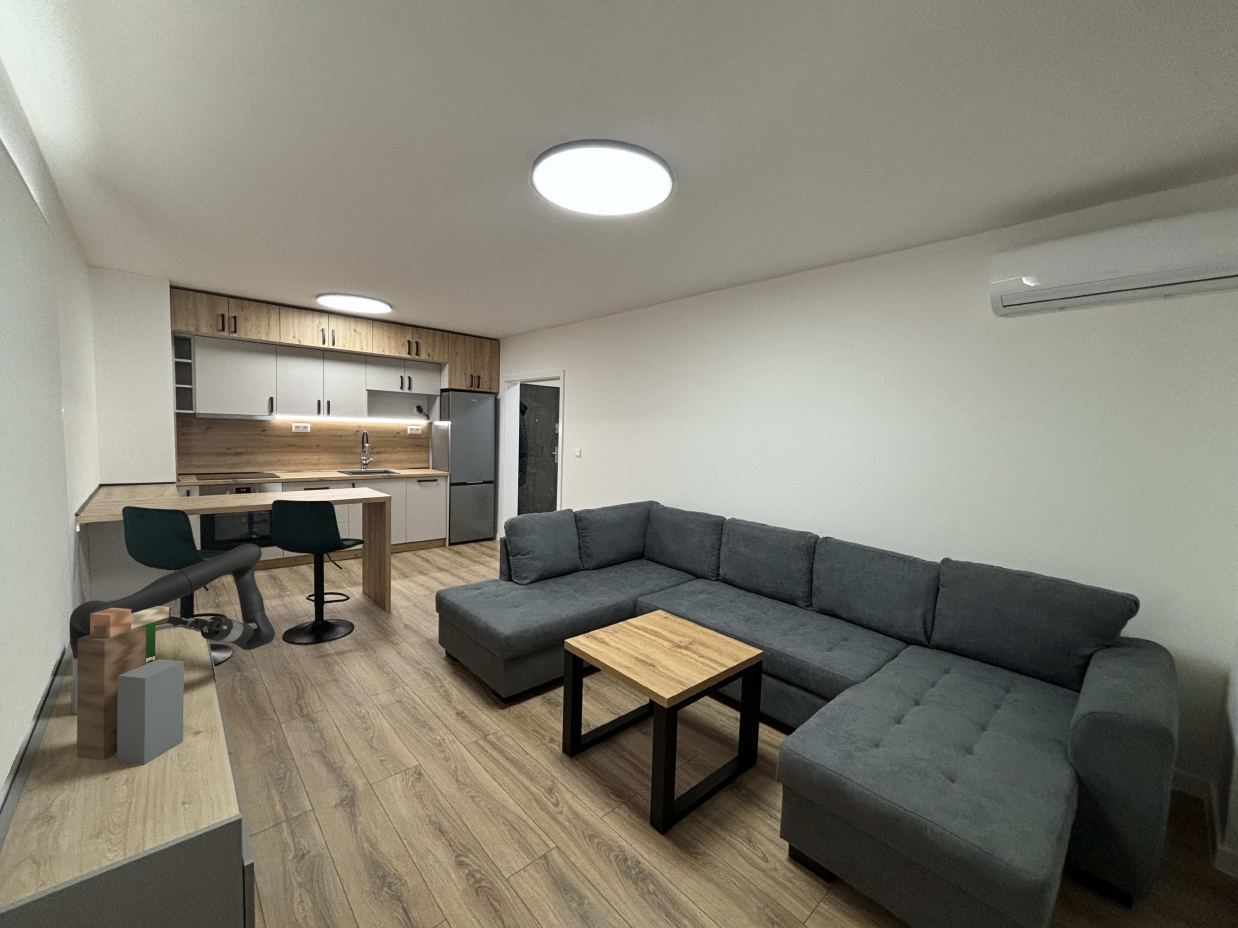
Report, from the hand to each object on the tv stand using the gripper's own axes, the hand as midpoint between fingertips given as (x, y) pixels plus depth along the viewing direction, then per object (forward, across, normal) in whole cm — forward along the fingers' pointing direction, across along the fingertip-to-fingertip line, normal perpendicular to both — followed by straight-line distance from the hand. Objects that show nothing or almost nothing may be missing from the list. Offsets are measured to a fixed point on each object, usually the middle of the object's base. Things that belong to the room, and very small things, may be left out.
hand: (181, 620), depth 149 cm
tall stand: (+2, 0, +34) cm, 34 cm away
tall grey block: (+2, +12, +34) cm, 36 cm away
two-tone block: (+13, 0, +4) cm, 14 cm away
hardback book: (-35, -51, +13) cm, 64 cm away
